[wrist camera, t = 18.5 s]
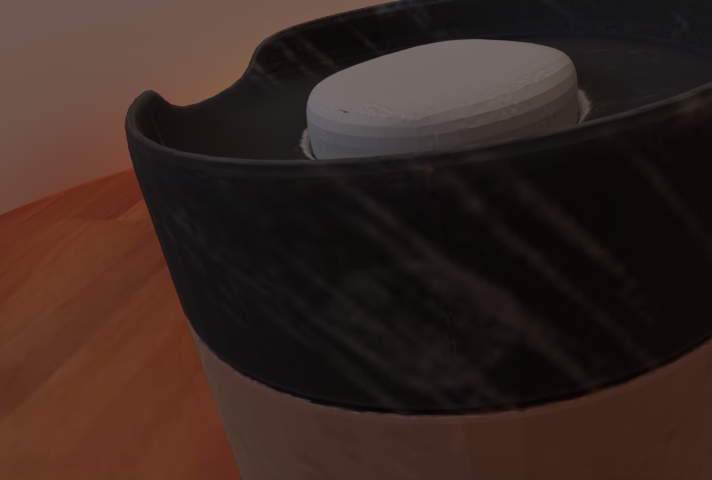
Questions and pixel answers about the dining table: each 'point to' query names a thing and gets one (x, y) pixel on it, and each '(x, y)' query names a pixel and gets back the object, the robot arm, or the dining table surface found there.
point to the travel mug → (451, 241)
